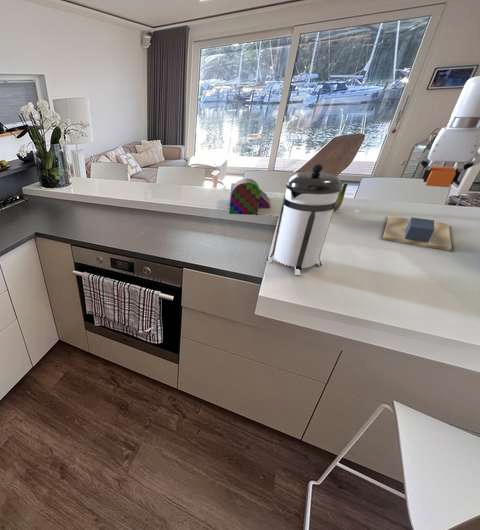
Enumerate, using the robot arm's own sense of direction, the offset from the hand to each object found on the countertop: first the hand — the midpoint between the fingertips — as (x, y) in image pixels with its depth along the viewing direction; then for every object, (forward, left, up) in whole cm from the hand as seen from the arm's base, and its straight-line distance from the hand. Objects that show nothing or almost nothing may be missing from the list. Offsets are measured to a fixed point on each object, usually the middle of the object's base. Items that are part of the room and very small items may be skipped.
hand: (437, 181), depth 97 cm
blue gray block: (0, +15, -15) cm, 21 cm away
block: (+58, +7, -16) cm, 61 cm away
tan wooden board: (0, +9, -15) cm, 18 cm away
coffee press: (+27, +51, -16) cm, 60 cm away
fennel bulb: (+27, -3, -16) cm, 32 cm away
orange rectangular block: (0, 0, 0) cm, 0 cm away
